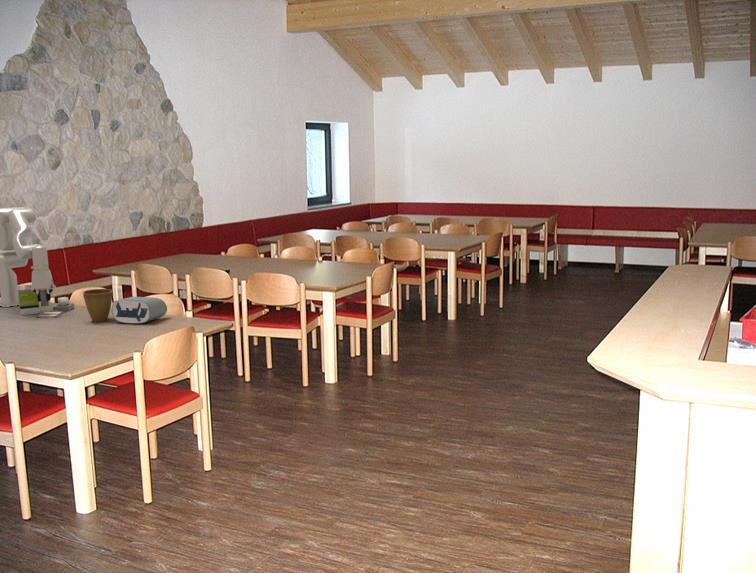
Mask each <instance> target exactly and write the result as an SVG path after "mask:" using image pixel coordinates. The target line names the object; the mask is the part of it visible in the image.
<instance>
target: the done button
mask: <svg viewBox="0 0 756 573" xmlns="http://www.w3.org/2000/svg"><path fill="white" fill-rule="evenodd" d="M68 299H69V298H68V297H66V296H64V297H58V298H57V304H59V306H65V305H68V303H69V302H68Z"/></svg>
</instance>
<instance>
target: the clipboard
mask: <svg viewBox="0 0 756 573" xmlns="http://www.w3.org/2000/svg"><path fill="white" fill-rule="evenodd" d="M63 312H64V313H65V311H59V310H53V309H50V310H49V311H43V312H42V313H39V314H37V316H35V319H39V318H38V317H54V318H57V316H58V317H59V315H60V314H61V315H62V313H63ZM64 313H63V314H64ZM61 315H60V316H61Z"/></svg>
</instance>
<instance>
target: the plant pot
mask: <svg viewBox="0 0 756 573" xmlns="http://www.w3.org/2000/svg"><path fill="white" fill-rule="evenodd" d="M82 294H83V299H84V304H85V306H86V309H87V312H88V314H89V317H90V318H91V320H92V322H94V323H100V322H102V321H103V322H107V321H108V318H109V314H110V312H111V309H112V302H113V301H112V300H113V290H112V289H109V288H94V289H88V290H84V291H83V292H82Z"/></svg>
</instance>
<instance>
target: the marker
mask: <svg viewBox="0 0 756 573" xmlns="http://www.w3.org/2000/svg"><path fill="white" fill-rule="evenodd" d="M39 292H40V307H48V306H50V304H49V302H50V301H47V290H46V289H39Z"/></svg>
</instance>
